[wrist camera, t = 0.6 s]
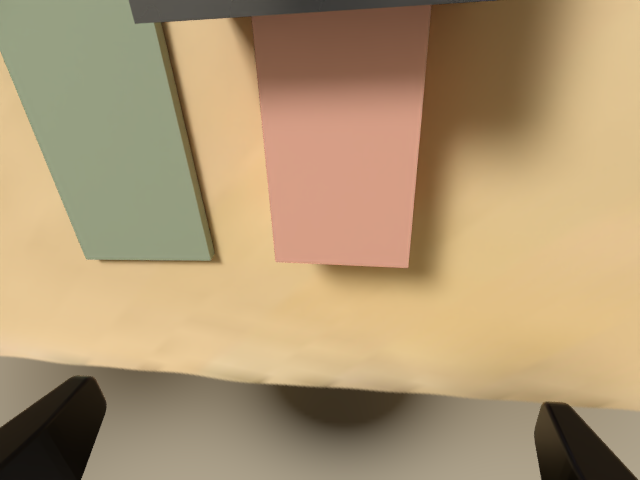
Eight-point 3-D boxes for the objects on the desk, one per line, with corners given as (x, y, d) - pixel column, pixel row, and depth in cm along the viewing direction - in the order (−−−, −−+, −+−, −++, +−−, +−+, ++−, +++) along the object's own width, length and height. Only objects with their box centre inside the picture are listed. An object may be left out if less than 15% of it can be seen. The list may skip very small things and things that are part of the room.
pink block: (435, -173, 14) (451, -209, 10) (405, 214, 21) (408, 267, 17) (266, -163, 14) (229, -194, 11) (292, 211, 21) (275, 261, 18)
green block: (132, -104, 15) (123, -105, 15) (214, 253, 23) (210, 260, 22) (-43, -86, 16) (-57, -86, 16) (92, 252, 24) (86, 259, 23)
